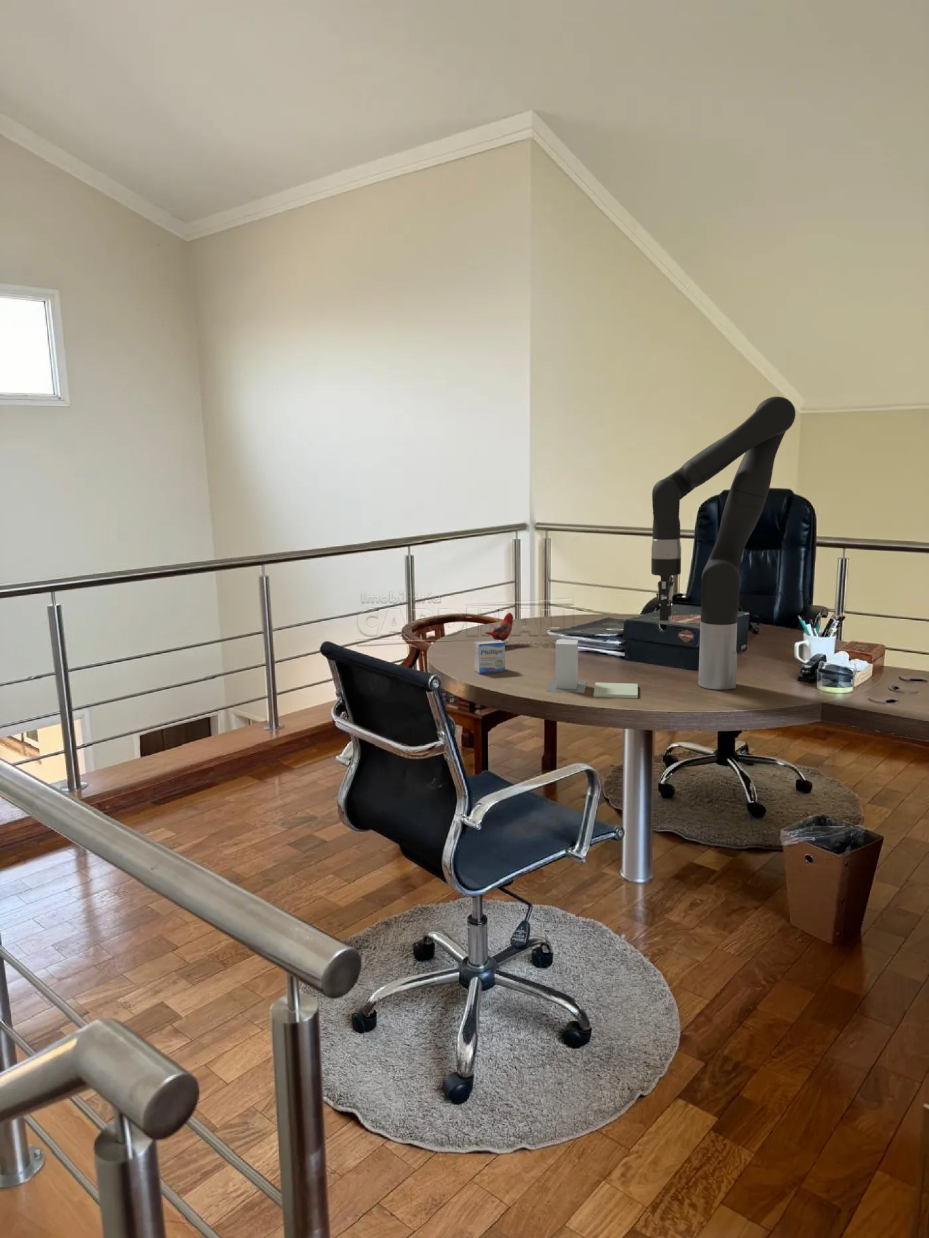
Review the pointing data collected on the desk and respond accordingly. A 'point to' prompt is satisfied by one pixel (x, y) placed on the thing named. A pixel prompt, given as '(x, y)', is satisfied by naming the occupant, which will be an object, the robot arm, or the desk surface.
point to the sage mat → (616, 690)
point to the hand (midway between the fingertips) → (665, 618)
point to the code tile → (579, 689)
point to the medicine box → (489, 656)
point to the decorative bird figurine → (503, 628)
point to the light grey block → (566, 664)
